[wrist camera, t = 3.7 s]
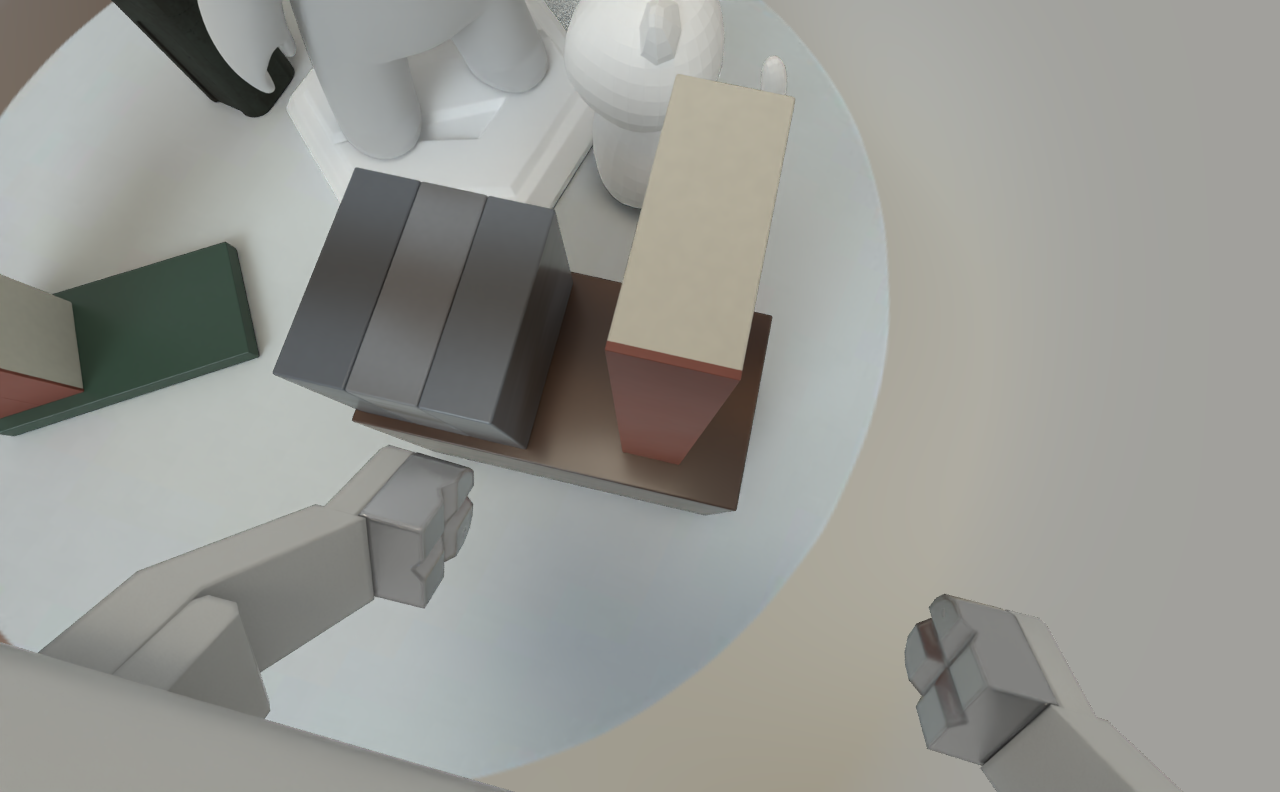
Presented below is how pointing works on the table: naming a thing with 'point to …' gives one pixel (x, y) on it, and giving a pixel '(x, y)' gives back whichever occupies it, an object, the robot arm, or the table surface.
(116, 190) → the table surface
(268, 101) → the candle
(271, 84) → the white toy figurine
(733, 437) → the grey stand
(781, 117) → the white book
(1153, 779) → the robot arm
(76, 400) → the green book holder
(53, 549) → the table surface
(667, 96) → the cat figurine
